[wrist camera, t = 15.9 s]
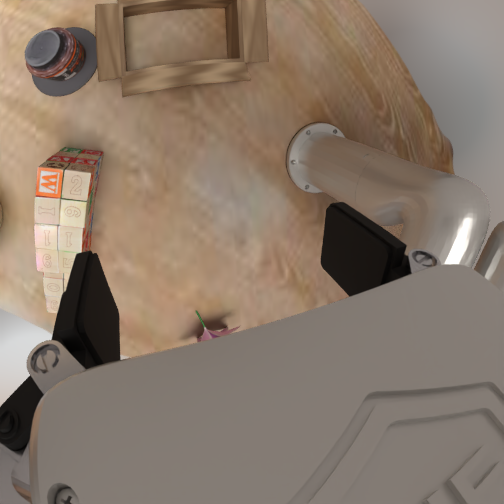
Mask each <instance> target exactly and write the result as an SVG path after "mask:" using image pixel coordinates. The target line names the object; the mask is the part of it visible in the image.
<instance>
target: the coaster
mask: <svg viewBox="0 0 504 504" xmlns="http://www.w3.org/2000/svg"><path fill="white" fill-rule="evenodd" d="M66 30H68V31H69V32H70V33H72V34H73V35H74V36H75V37H76V39H78V41H79V40H80V43H81V44H82V45H83V47H84V49H85V52H86V58H85V62H84V65H83V67H82V68H81V70H80V71H79V72H78V73H77V74H76V75H75V76H74V77H72V78H70V79H68V80H65V81H54V80H49V79H44V78H40V77H36V76H34V75H33V74H32V78H33V81H34V84H35V85H36V87H37V88H38V89H39V90H40V91H41V92H42V93H44V94H46V95H50V96H64V95H68V94H71V93H73V92H75V91H77V90H78V89H80V88H81V87H82V86H84V85H85V84H86V83H87V82H88V81H89V79H90V78H91V77H92V75H93V74H94V72H95V70H96V68H97V52H96V38H95V37H94V36H93V35H92V34H91V33H90V32H89V31H87V30H85V29H82V28H77V27H72V28H66Z"/></svg>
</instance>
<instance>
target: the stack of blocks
mask: <svg viewBox="0 0 504 504" xmlns="http://www.w3.org/2000/svg"><path fill="white" fill-rule="evenodd" d="M103 154H104V153H103V152H99V151H92V150H81V149H74V148H66V147H64V148H63V149H61V150H60V151H59V152H58V153H56V154H55V155H54V156H51V157H50V158H49V159H47V160H46V162H44V163H43V164H42V165H40V166H39V167H38V169H37V181H36V197H35V224H34V236H35V247H36V264H37V271H43V284H44V294H45V296H46V305H47V312H52V313H58V309H59V305H60V301H61V297H62V294H63V292H65V291H66V287H67V284H68V280H69V276H70V273H71V269H72V266H73V263H74V260H75V256H76V254H77V253H81V252H85V251H90V244H91V233H92V231H91V228H92V218H93V209H94V201H95V194H96V190H97V184H98V178H99V173H100V169H101V163H102V158H103Z"/></svg>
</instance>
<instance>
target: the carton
mask: <svg viewBox="0 0 504 504" xmlns="http://www.w3.org/2000/svg"><path fill="white" fill-rule="evenodd" d="M197 8H225V14H226V34H227V52H228V59H216V60H202V61H192V62H182V63H174V64H167V65H160V66H154V67H148V68H142V69H137V70H132V71H127V66H126V52H125V32H124V17H128V16H134V15H140V14H146V13H153V12H161V11H170V10H181V9H197ZM95 27H96V52H97V67H98V79H99V82H101V81H106V80H111V79H116V78H121V82H122V96H123V97H126V96H130V95H135V94H140V93H145V92H150V91H156V90H162V89H168V88H174V87H182V86H189V85H198V84H207V83H218V82H232V81H250V80H251V78H250V75H249V72H248V69H247V66H246V63H249V62H269V58H268V36H267V18H266V0H118V4H96V5H95Z"/></svg>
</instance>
